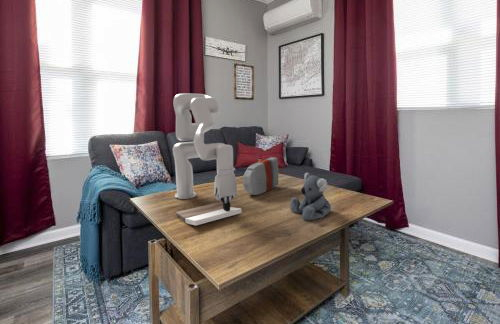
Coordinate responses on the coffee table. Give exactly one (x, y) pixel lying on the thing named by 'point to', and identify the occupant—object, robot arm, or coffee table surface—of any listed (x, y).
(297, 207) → the koala plush
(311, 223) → the coffee table surface
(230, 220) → the coffee table surface
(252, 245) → the coffee table surface
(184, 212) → the walnut plank
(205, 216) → the off-white plank
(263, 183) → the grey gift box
